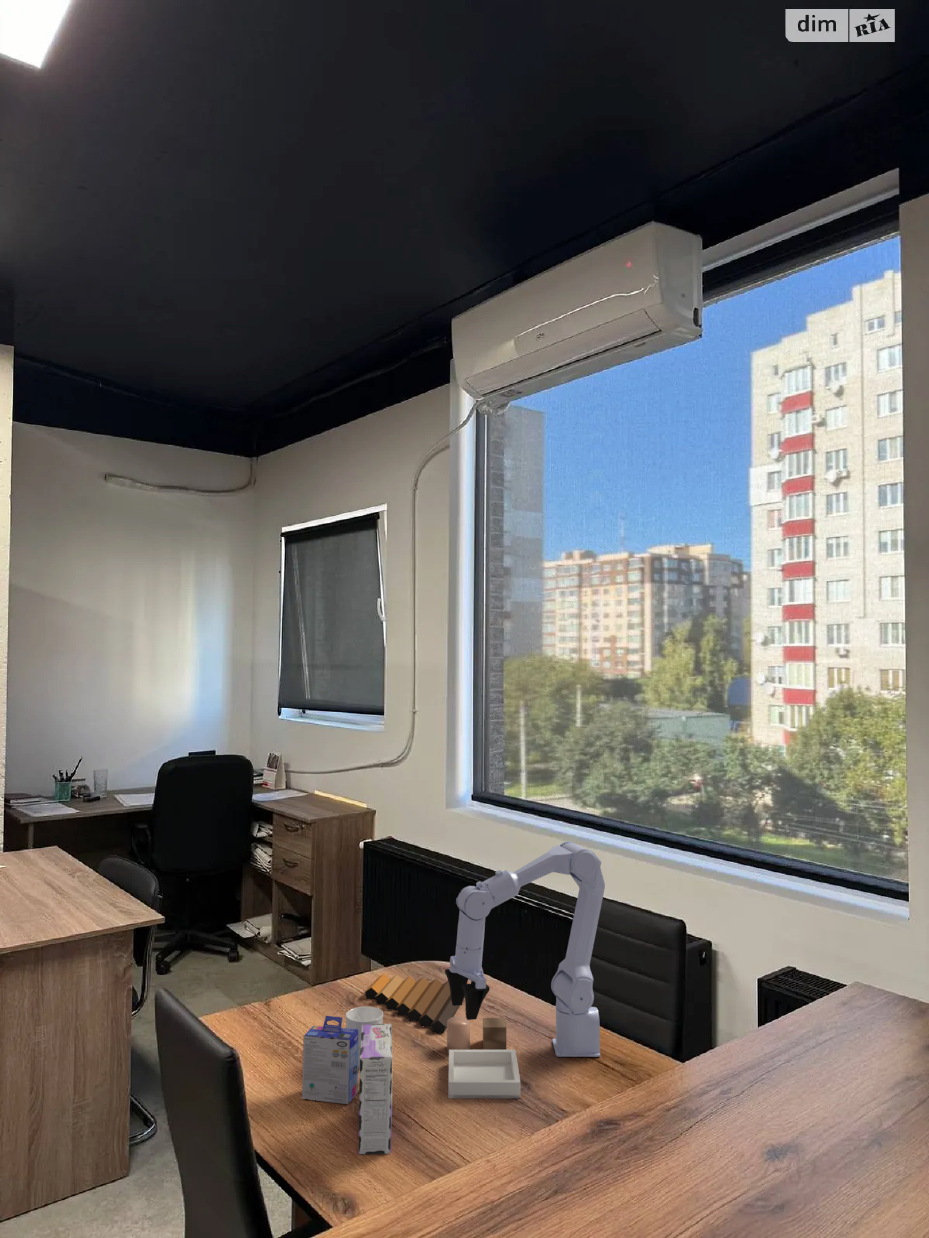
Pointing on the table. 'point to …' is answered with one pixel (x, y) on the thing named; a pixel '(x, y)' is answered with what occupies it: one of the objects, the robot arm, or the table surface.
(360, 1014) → the white cup
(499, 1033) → the walnut cube
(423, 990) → the pan flute
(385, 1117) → the candy box
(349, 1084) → the ink cartridge box
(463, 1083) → the off-white tray
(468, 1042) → the beige rounded cylinder
